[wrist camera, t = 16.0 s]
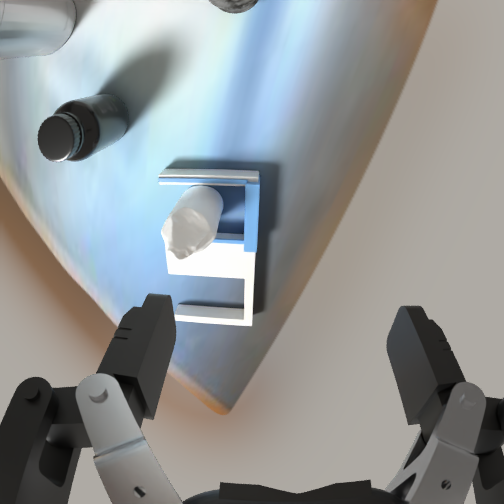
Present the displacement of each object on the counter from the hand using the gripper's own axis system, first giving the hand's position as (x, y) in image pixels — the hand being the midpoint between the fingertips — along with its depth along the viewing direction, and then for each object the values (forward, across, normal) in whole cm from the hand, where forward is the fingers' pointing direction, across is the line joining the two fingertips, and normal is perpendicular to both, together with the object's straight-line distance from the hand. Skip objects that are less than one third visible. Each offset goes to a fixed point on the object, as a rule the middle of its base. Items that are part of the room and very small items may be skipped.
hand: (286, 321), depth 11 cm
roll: (+30, +9, +9) cm, 33 cm away
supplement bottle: (+30, +21, -3) cm, 37 cm away
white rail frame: (+30, +8, +16) cm, 35 cm away
